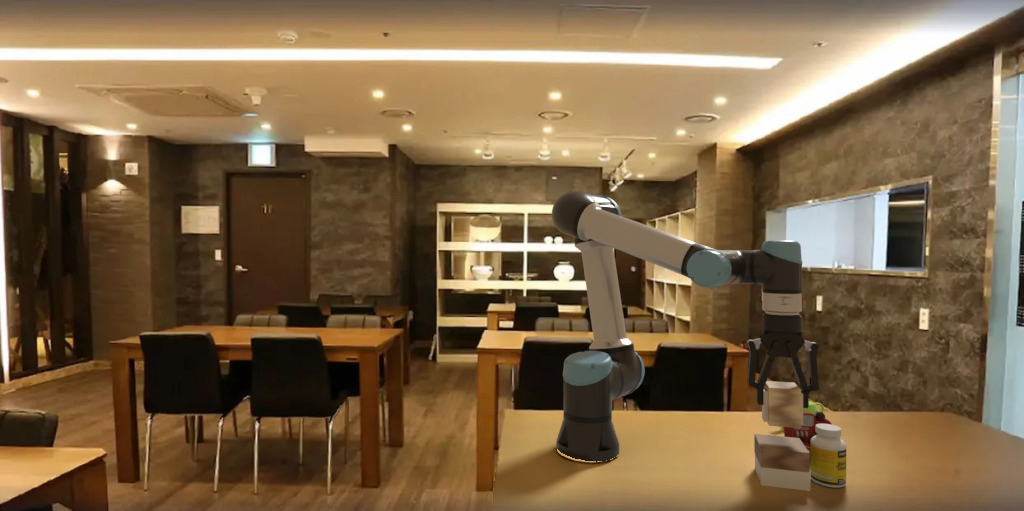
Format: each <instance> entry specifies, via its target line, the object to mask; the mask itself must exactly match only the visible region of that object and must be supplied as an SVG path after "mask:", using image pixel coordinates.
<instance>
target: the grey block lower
mask: <svg viewBox="0 0 1024 511" xmlns="http://www.w3.org/2000/svg"><path fill="white" fill-rule="evenodd" d="M754 470H755V472H756V474H757V477H758V480H759V483H760V486H763V487H765V486H766V487H775V488H780V489H781V488H783V489H789V490H798V491H805V492H806V491H808V492H811V474H810V473H811V472H810V473H808V472H799V471H790V470H781V469H772V468H762V467H761V466H760V464H759V462H758V459H757V457H756V454H755V453H754Z"/></svg>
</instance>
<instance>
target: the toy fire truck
mask: <svg viewBox="0 0 1024 511" xmlns="http://www.w3.org/2000/svg"><path fill="white" fill-rule="evenodd" d="M825 418H826V415H825V413H824V412H823V413H822V412H817V413H816V415H814V414H812V413H807V412H803V425H801V428H791V427H783V428H784V433H783V434H784V435H783V437H793V438H800V440H801V441H802V443H803V444H804V446H805V447H806V448H807V450H808V451H809V453H810V451H811V438H812V437H813V436H816V435H817V433H816V432H815V426H816V424H831V425H833V424H832V422H831V421H830V420H829V419H827V418H826V419H825Z"/></svg>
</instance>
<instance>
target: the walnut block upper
mask: <svg viewBox="0 0 1024 511" xmlns="http://www.w3.org/2000/svg"><path fill="white" fill-rule="evenodd" d="M753 437H754V441H753V442H754V445H753V446H754V449H753V450H754V455H755V454H756V457H757V459H758V462H759V464H760V466H761V467H762V468H772V469H781V470H790V471H799V472H808V473H811V460H810V453H809V451H808V450H807V448H806V447H805V446H804V444H803V443H802V441H801V440H800V438H793V437H784V435H783V436H782V435H781V436H780V435H772V434H771V435H770V434H761V433H760V434H759V433H754V436H753Z"/></svg>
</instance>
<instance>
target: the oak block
mask: <svg viewBox="0 0 1024 511" xmlns="http://www.w3.org/2000/svg"><path fill="white" fill-rule="evenodd" d="M764 388H766V390H767V391H768V422H766V423H767V424H768V426H769V427H778V428H779V427H782V428H784V427H791V428H801V389H800V386H798V384H796V382H794V381H793V382H791V381H790V382H789V381H787V382H786V381H774V380H773V381H771V380H767V381H766V384H765V387H764Z"/></svg>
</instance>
